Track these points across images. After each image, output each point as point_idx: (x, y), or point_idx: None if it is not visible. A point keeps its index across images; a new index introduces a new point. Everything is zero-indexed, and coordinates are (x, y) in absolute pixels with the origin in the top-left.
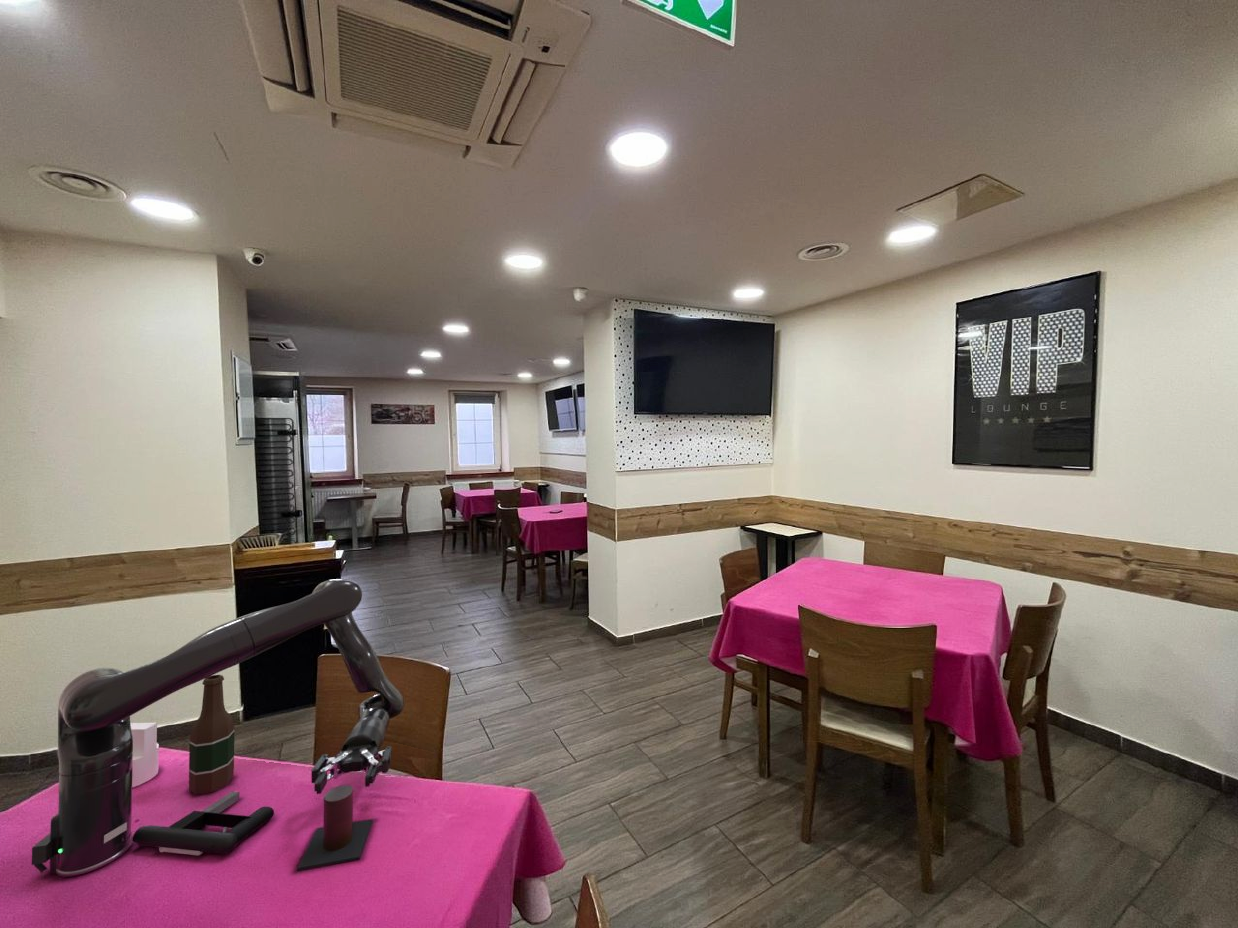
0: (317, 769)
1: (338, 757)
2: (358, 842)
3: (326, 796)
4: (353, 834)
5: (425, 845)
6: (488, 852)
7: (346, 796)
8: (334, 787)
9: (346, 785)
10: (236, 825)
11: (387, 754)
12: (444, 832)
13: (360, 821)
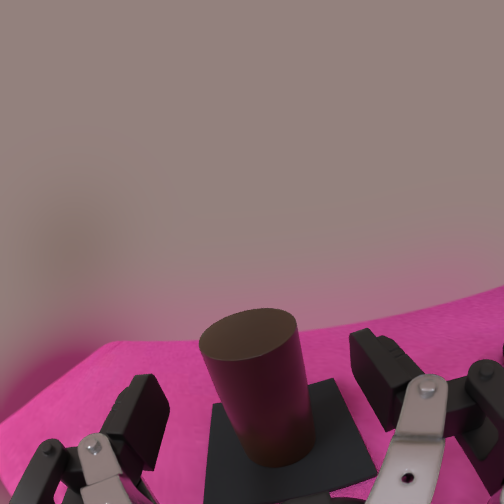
0: (468, 376)
1: (419, 500)
2: (224, 435)
3: (283, 317)
4: (245, 458)
5: (105, 416)
6: (53, 387)
7: (214, 325)
8: (278, 347)
9: (229, 358)
10: None
11: (26, 487)
12: (73, 431)
13: (240, 502)
